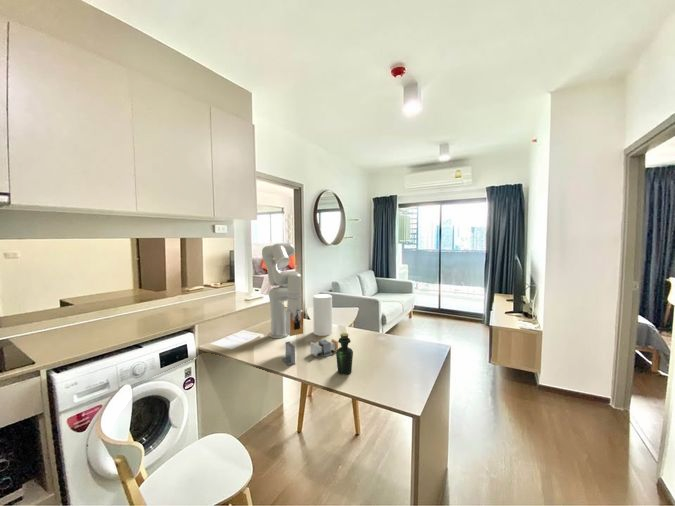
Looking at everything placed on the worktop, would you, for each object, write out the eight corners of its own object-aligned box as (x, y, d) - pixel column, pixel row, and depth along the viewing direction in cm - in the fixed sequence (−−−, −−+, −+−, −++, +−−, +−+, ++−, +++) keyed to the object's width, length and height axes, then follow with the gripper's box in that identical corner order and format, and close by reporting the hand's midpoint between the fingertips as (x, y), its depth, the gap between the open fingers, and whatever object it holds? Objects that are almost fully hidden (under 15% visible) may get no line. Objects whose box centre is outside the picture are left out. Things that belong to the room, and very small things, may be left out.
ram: (310, 353, 155) (310, 342, 155) (333, 347, 162) (332, 337, 162) (315, 356, 150) (315, 345, 150) (338, 351, 157) (338, 340, 157)
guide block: (316, 351, 159) (316, 340, 158) (324, 349, 161) (324, 338, 161) (324, 356, 151) (324, 345, 151) (332, 354, 154) (332, 343, 153)
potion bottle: (340, 377, 129) (340, 338, 128) (333, 369, 137) (333, 333, 136) (356, 373, 132) (356, 335, 131) (348, 366, 140) (348, 330, 139)
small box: (290, 336, 154) (290, 313, 152) (285, 332, 159) (285, 310, 158) (303, 333, 158) (303, 310, 157) (298, 330, 163) (298, 308, 162)
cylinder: (328, 336, 182) (328, 298, 180) (310, 334, 185) (310, 297, 184) (334, 330, 194) (334, 294, 192) (317, 328, 197) (317, 293, 196)
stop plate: (282, 359, 148) (281, 343, 147) (289, 358, 150) (289, 341, 149) (287, 365, 141) (287, 348, 140) (295, 363, 143) (294, 346, 142)
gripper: (282, 293, 162) (282, 323, 164) (294, 300, 147) (294, 333, 149) (294, 291, 166) (294, 321, 167) (307, 298, 151) (307, 330, 153)
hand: (294, 326), depth 158 cm, fingers closed on small box, 6 cm apart
